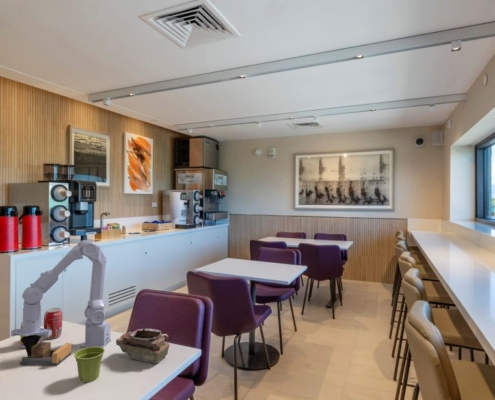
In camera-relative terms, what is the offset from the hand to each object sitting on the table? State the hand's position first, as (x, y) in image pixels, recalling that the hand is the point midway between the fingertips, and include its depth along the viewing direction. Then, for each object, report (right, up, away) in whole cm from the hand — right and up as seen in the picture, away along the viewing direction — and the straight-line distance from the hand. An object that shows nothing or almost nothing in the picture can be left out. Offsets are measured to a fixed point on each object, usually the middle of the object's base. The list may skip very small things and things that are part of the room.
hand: (31, 354), depth 124 cm
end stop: (+12, -2, 0) cm, 12 cm away
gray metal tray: (+6, -2, 0) cm, 6 cm away
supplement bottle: (-9, -2, +12) cm, 15 cm away
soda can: (-4, -2, +21) cm, 22 cm away
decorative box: (+41, -2, +1) cm, 41 cm away
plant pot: (+29, -2, -13) cm, 31 cm away
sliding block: (+4, -1, 0) cm, 4 cm away
